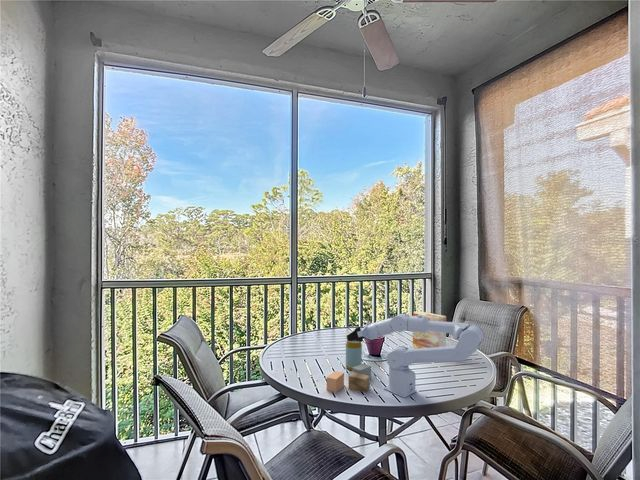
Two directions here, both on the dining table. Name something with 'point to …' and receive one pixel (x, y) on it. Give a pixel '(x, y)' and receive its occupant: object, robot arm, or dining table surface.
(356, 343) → the bottle
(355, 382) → the walnut brick
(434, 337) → the coffeecake box
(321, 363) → the dining table surface
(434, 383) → the dining table surface
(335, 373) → the terracotta brick
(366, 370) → the slate brick
